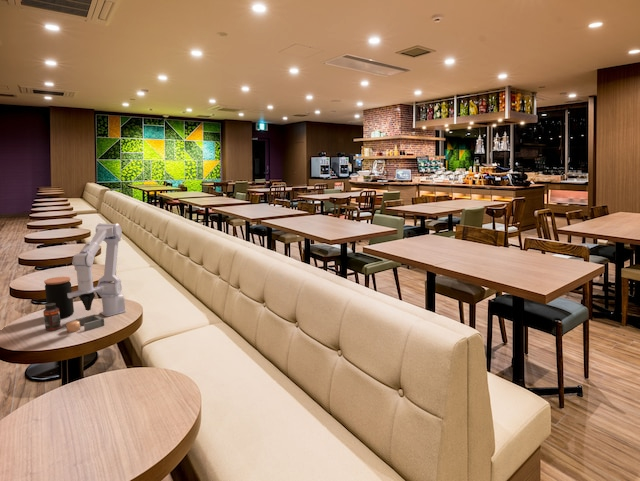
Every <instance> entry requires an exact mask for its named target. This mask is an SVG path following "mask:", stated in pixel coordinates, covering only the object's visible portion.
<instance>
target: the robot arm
mask: <svg viewBox="0 0 640 481" xmlns="http://www.w3.org/2000/svg"><path fill="white" fill-rule="evenodd" d="M122 232H123V231H122V226H121V225H120V223H98V224H97V225H96V227H95V234H94V236H93V237H92V239H91V240H90V241H88V242H87V241H86V243H85V245H84V246H83V247H82V249H80V251H79V253H78V252H77V253H76V254H74V255H73V257H72V261H71V262H72V266H74V270H75V271H76V279H77V290H74V291H72V292H71V293H67V296H68V298H76V297H78V298H79V299H80V301H81V302H82V303H83V306H84V307H83V308H84V309H85V311H87V312H88V311H91V309H92V305H93V301H94V299H95V297H96V294H95V293H97V294H98V296H99V297H100V298H101V304H102V311H99V314H101V315H103V316H105V317H106V318H107V317H111V316H115V315H119V314H123V313H126V312H127V310H126V302H125V297H124V295H123V293H122V289H123V288H122V287H123V286H122V280H121V279H120V278H119V277H118V276H117V275H116V274H117V266H118V265H117V263H118V252H119V250H118V249H119V242H121V240H122ZM102 242H105V243H106V250H105V262H104V269H103V270H104V271H103V272H104V274H103V276H101V277H100V278H99V279H98V282H97V285H96V286H94V281H93V272H92V271H93V269H92V266H93V264H94V261H95V256H96V255H97V254H98V251H99V250H100V244H102Z"/></svg>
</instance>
